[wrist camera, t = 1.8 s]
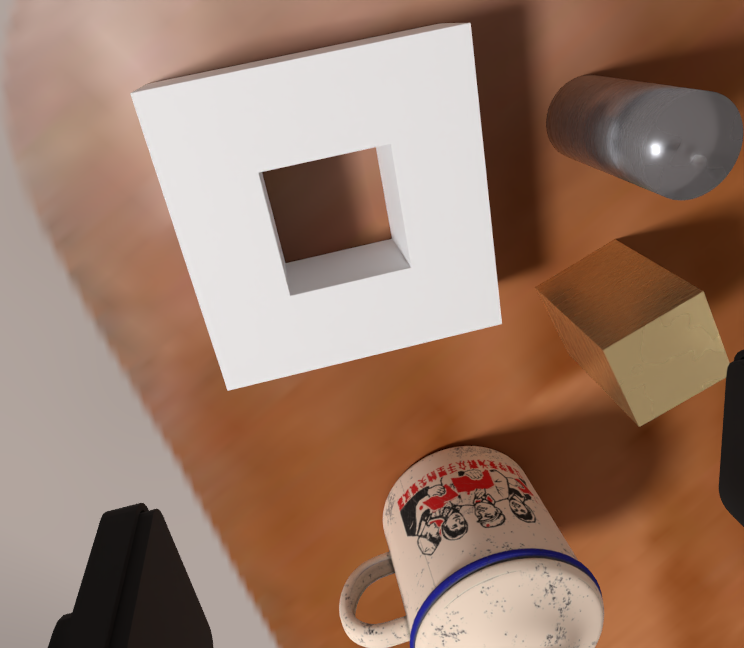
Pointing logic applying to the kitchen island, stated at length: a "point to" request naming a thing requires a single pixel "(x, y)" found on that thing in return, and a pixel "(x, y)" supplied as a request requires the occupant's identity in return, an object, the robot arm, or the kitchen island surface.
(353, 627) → the teacup with lid
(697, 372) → the square bit
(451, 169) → the block
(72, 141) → the kitchen island surface
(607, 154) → the round bit
